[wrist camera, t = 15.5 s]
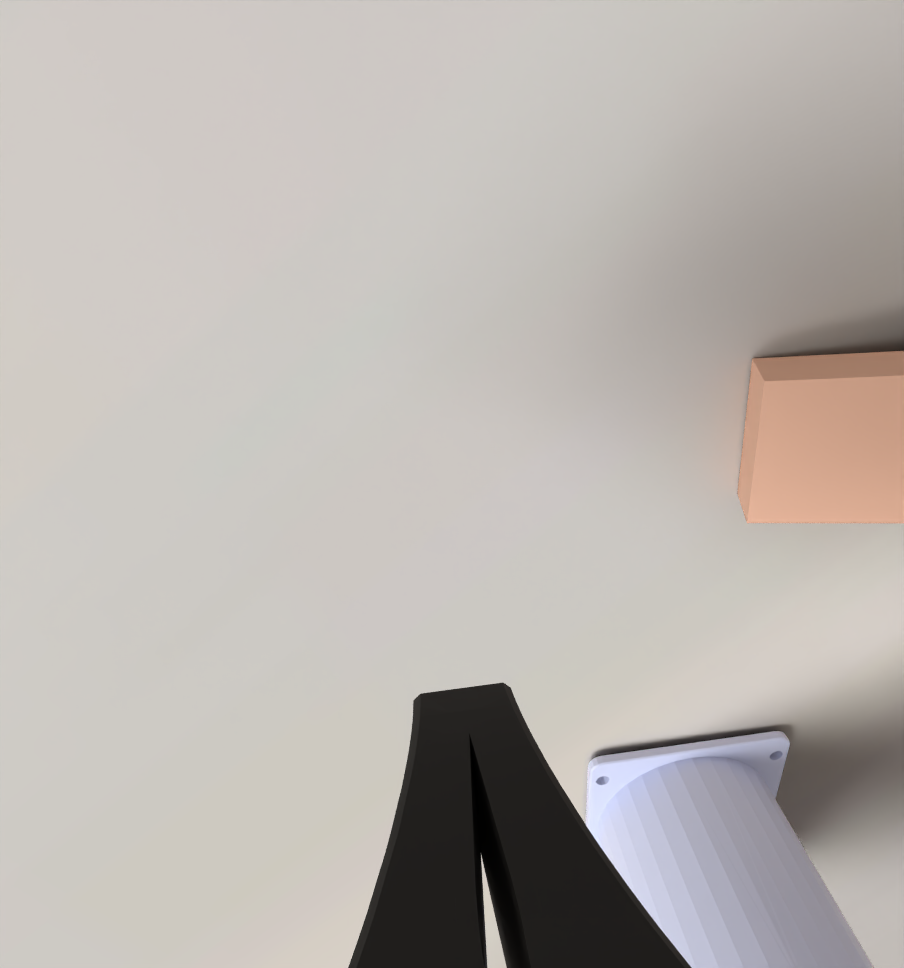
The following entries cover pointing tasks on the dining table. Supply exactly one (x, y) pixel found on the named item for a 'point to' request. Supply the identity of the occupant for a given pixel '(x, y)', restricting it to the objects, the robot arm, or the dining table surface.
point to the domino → (824, 439)
